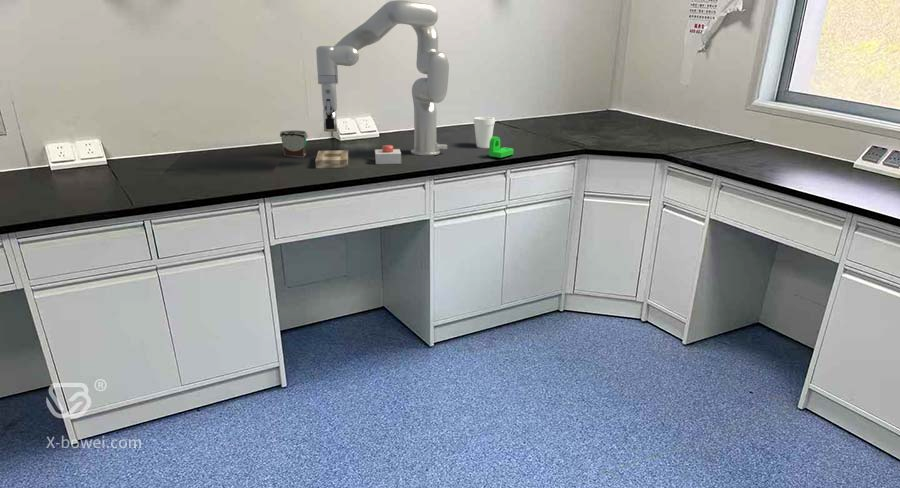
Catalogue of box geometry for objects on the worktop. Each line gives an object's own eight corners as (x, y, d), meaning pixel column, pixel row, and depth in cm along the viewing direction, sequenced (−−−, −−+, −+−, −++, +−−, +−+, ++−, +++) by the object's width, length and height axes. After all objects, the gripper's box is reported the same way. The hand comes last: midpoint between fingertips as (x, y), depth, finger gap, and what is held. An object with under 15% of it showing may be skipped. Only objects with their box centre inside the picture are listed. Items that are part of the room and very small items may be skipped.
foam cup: (483, 149, 269) (483, 120, 265) (469, 146, 276) (469, 118, 272) (498, 147, 275) (499, 118, 271) (483, 144, 282) (484, 116, 278)
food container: (314, 155, 255) (313, 131, 251) (307, 157, 249) (305, 133, 246) (289, 153, 258) (287, 129, 255) (281, 155, 253) (279, 131, 250)
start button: (392, 149, 244) (392, 145, 243) (393, 151, 240) (393, 147, 239) (382, 150, 243) (381, 145, 243) (382, 152, 239) (382, 147, 239)
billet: (337, 129, 238) (336, 109, 236) (336, 131, 234) (335, 110, 231) (324, 129, 238) (323, 109, 235) (323, 131, 233) (322, 110, 230)
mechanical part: (500, 157, 253) (501, 138, 251) (489, 155, 257) (489, 137, 254) (515, 153, 262) (516, 135, 260) (504, 151, 266) (504, 133, 263)
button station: (399, 158, 248) (399, 149, 247) (401, 163, 239) (401, 153, 238) (375, 159, 247) (374, 149, 246) (376, 164, 238) (375, 154, 236)
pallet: (348, 157, 250) (348, 150, 249) (347, 167, 231) (347, 159, 230) (318, 158, 248) (318, 150, 247) (315, 168, 230) (315, 160, 229)
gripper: (337, 81, 222) (339, 131, 228) (338, 78, 238) (340, 124, 244) (316, 81, 221) (319, 131, 227) (319, 78, 237) (321, 125, 243)
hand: (330, 127), depth 235 cm, fingers closed on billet, 5 cm apart
